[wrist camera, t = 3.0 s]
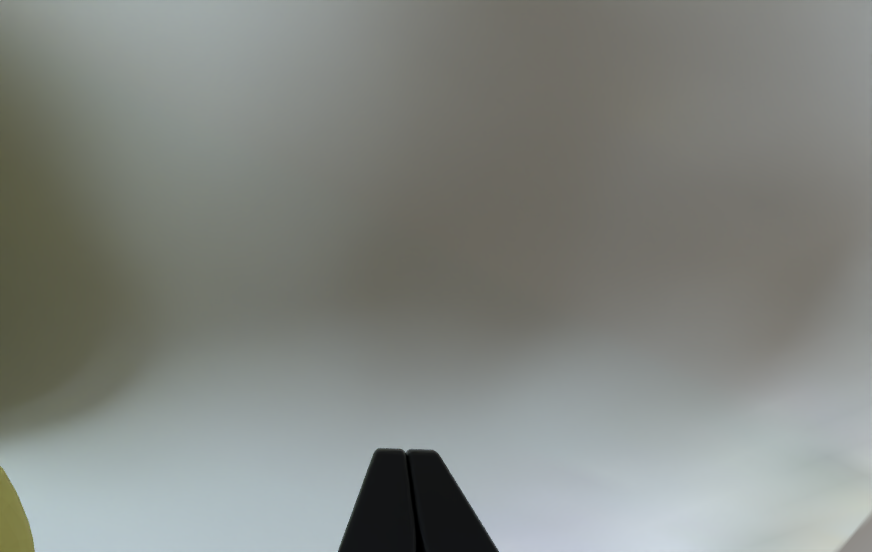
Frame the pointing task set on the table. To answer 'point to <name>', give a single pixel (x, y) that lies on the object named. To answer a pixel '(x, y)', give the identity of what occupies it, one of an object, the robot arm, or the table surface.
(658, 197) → the table surface
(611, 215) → the table surface
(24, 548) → the yellow long curved piece
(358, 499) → the robot arm
